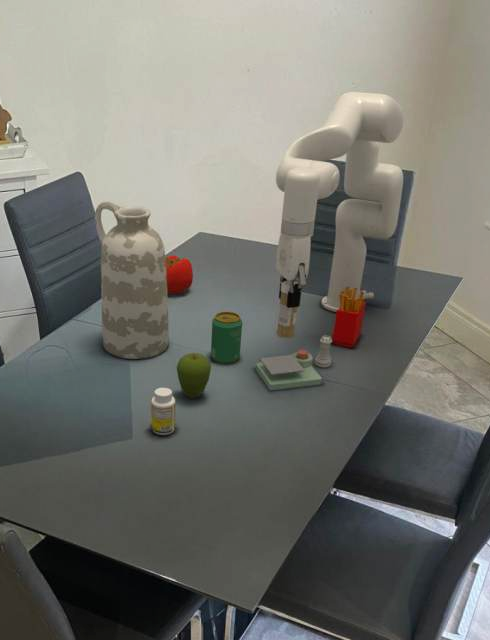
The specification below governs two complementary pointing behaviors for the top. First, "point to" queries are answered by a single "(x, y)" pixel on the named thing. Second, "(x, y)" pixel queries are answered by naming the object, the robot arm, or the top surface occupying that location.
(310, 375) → the scale
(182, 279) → the tomato
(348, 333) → the french fries container
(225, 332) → the beverage can
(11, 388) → the top surface
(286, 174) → the robot arm
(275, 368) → the scale pan
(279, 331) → the sprinkles bottle
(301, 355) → the tare button
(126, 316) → the vase
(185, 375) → the apple
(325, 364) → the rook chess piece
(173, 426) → the supplement bottle
